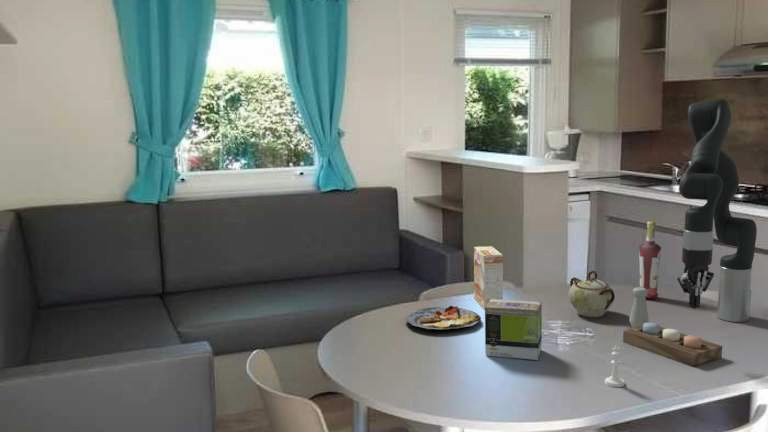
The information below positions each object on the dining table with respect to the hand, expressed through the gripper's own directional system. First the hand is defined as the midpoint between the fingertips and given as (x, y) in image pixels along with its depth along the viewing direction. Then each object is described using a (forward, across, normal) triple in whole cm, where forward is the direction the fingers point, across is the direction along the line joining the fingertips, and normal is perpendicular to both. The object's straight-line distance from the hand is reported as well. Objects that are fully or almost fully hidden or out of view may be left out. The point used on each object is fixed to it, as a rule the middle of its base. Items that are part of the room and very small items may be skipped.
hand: (694, 307), depth 194 cm
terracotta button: (+12, 0, 0) cm, 12 cm away
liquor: (+14, -38, -46) cm, 61 cm away
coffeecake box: (+15, +14, -73) cm, 76 cm away
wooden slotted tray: (+14, 0, -7) cm, 16 cm away
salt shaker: (+14, -8, -25) cm, 30 cm away
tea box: (+15, +39, -30) cm, 51 cm away
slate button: (+12, 0, -14) cm, 18 cm away
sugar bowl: (+15, -7, -44) cm, 47 cm away
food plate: (+15, +40, -64) cm, 77 cm away
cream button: (+12, 0, -7) cm, 14 cm away
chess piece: (+15, +32, +1) cm, 35 cm away
